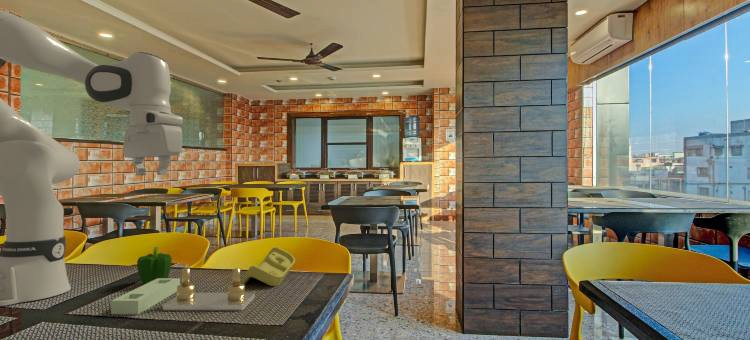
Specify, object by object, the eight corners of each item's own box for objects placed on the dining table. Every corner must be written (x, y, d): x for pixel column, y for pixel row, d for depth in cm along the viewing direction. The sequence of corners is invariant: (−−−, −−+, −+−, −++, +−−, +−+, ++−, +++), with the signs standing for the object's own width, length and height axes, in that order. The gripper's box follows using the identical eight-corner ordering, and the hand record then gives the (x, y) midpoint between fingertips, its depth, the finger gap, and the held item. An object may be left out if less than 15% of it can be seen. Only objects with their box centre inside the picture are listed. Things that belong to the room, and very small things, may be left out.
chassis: (162, 310, 87) (162, 273, 87) (182, 297, 96) (182, 264, 96) (242, 310, 87) (242, 274, 87) (254, 297, 96) (254, 264, 96)
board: (138, 314, 85) (138, 300, 85) (110, 314, 85) (111, 300, 85) (179, 289, 103) (179, 278, 103) (157, 289, 103) (157, 278, 103)
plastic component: (280, 279, 105) (247, 263, 105) (269, 302, 105) (236, 286, 106) (298, 257, 125) (271, 244, 125) (289, 277, 125) (262, 264, 125)
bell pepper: (161, 287, 104) (161, 250, 104) (131, 287, 105) (131, 250, 105) (177, 279, 113) (177, 245, 113) (149, 279, 113) (150, 245, 113)
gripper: (115, 121, 98) (115, 175, 98) (161, 114, 88) (161, 175, 87) (141, 124, 104) (141, 175, 103) (187, 117, 93) (187, 175, 93)
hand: (151, 175), depth 95 cm, fingers open, 8 cm apart
